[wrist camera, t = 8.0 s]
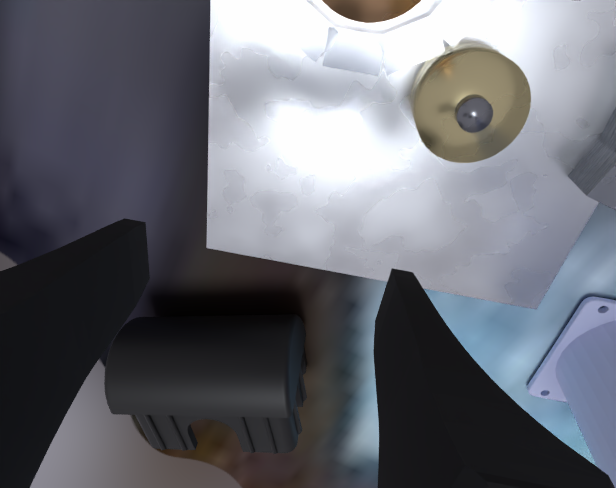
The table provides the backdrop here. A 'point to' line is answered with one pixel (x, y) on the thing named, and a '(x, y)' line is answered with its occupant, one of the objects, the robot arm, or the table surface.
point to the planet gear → (371, 9)
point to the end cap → (211, 378)
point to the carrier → (413, 138)
